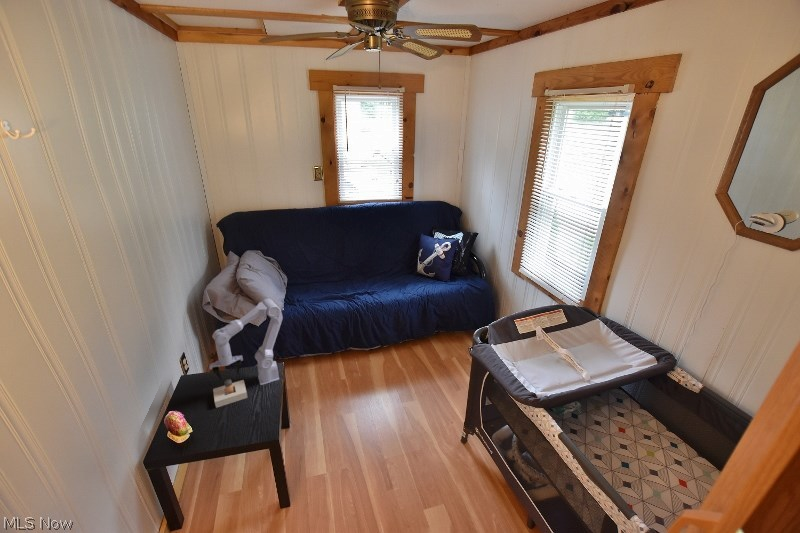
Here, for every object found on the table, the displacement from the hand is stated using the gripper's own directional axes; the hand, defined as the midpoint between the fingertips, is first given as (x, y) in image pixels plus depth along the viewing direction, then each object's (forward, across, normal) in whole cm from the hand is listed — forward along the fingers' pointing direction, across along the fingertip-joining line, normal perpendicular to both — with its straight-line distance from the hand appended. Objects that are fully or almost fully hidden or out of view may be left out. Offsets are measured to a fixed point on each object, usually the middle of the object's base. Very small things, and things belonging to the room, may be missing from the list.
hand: (229, 376), depth 178 cm
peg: (+10, +1, +2) cm, 10 cm away
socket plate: (+10, +1, +2) cm, 10 cm away
